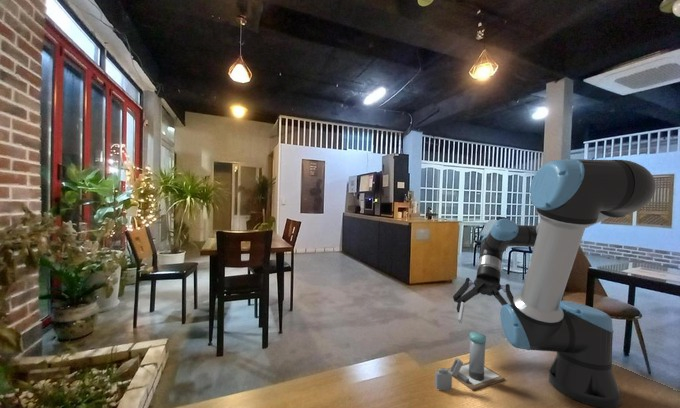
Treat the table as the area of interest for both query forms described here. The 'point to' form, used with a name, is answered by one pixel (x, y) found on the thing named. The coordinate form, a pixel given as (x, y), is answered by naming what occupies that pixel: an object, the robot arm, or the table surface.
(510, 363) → the table surface
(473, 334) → the grey teal cylinder
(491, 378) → the clipboard
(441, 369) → the lighter
